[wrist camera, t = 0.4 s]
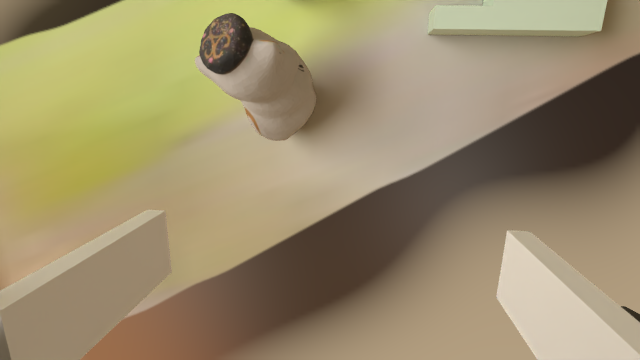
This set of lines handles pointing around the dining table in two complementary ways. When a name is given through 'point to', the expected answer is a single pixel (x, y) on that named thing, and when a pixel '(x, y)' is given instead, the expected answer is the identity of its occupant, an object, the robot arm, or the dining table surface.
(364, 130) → the dining table surface
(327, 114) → the dining table surface
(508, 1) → the slot frame
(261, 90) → the figurine
